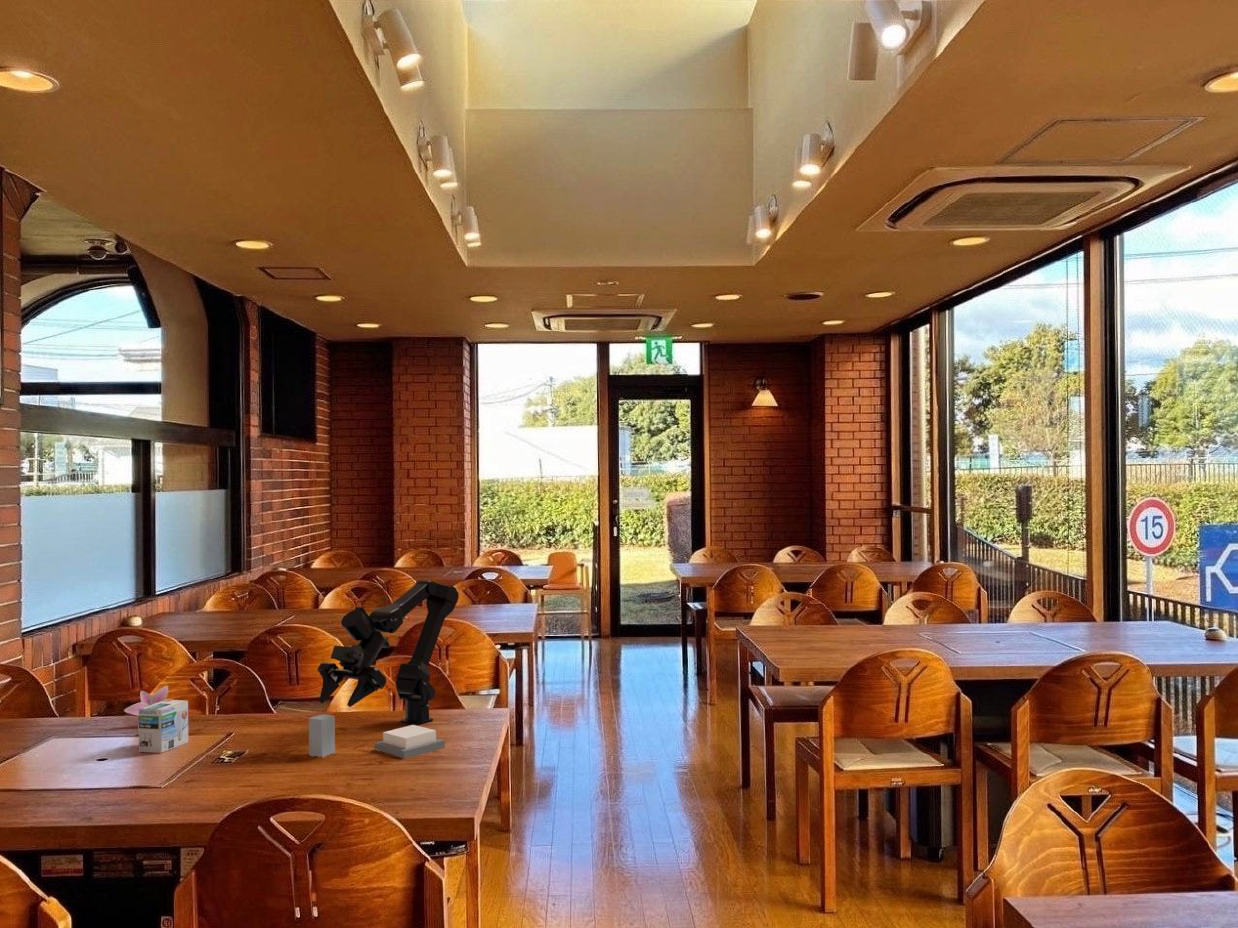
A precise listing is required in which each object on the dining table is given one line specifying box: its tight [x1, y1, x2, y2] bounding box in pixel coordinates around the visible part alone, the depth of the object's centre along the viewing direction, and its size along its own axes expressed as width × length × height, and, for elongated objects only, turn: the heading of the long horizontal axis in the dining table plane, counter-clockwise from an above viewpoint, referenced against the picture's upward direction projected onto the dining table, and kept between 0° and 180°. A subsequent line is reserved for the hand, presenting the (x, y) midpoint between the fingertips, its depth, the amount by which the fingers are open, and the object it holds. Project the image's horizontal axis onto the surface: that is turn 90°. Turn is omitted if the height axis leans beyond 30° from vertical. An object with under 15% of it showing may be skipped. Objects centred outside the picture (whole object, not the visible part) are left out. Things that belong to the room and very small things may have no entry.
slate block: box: [308, 713, 336, 758], centre depth 230 cm, size 4×4×9 cm
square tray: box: [374, 737, 446, 760], centre depth 233 cm, size 12×12×2 cm
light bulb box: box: [138, 699, 189, 754], centre depth 239 cm, size 11×7×11 cm, turn 168°
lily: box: [123, 685, 169, 730], centre depth 263 cm, size 12×12×10 cm
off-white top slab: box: [382, 724, 437, 749], centre depth 234 cm, size 9×9×2 cm
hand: (334, 704), depth 234 cm, fingers open, 9 cm apart
